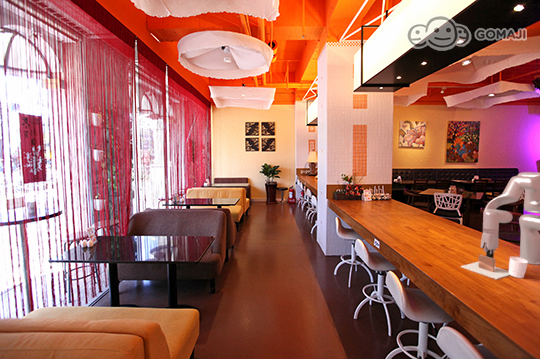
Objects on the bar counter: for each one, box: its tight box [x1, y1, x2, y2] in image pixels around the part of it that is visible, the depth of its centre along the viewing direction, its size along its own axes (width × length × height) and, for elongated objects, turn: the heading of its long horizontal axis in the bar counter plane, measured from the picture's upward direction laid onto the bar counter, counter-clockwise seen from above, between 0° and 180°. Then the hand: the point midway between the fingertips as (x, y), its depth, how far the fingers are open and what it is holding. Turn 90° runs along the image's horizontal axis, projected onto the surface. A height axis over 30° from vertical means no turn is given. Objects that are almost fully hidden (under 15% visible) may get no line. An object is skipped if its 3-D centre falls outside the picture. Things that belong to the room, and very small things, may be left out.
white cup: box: [508, 256, 529, 279], centre depth 157 cm, size 8×8×10 cm
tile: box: [478, 254, 496, 272], centre depth 166 cm, size 2×8×8 cm, turn 22°
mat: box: [460, 261, 511, 281], centre depth 167 cm, size 18×20×1 cm
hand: (489, 259), depth 167 cm, fingers closed
